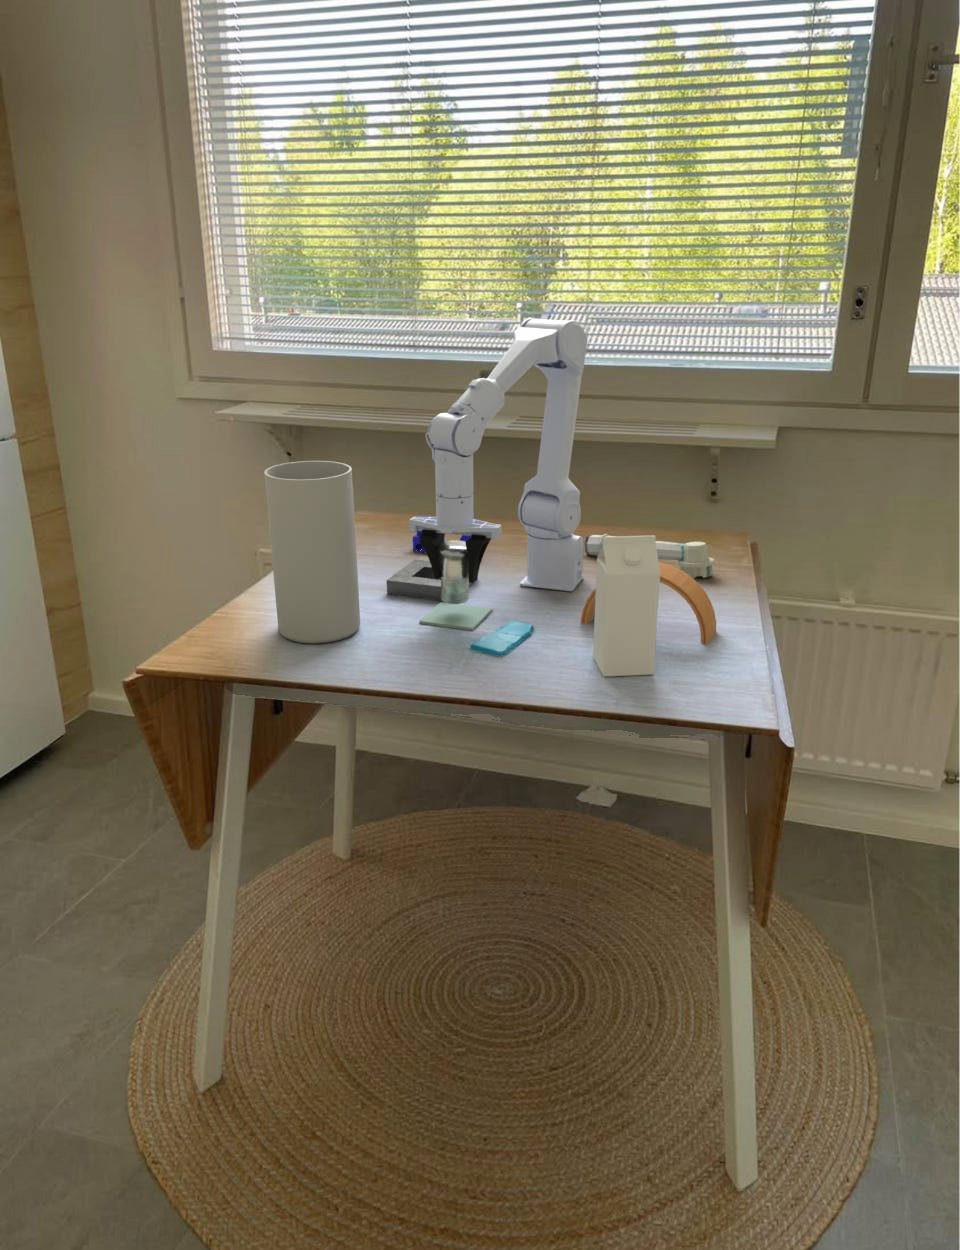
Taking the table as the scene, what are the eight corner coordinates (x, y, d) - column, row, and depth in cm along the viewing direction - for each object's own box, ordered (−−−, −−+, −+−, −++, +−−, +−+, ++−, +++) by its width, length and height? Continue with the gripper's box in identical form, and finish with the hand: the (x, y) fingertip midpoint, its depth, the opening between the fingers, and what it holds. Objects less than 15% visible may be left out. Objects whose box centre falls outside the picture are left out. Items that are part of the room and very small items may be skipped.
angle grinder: (595, 531, 185) (717, 535, 170) (598, 564, 187) (719, 571, 172) (581, 537, 182) (705, 542, 166) (584, 571, 183) (707, 579, 168)
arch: (593, 611, 156) (596, 552, 152) (716, 632, 147) (722, 570, 144) (580, 623, 151) (582, 563, 147) (706, 646, 143) (712, 582, 139)
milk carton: (592, 657, 139) (598, 529, 132) (641, 655, 139) (649, 528, 132) (602, 677, 132) (608, 545, 125) (653, 675, 133) (662, 543, 126)
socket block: (477, 579, 170) (477, 566, 169) (452, 602, 160) (452, 588, 159) (415, 572, 174) (414, 559, 173) (387, 594, 164) (386, 580, 163)
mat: (492, 610, 156) (492, 608, 156) (473, 630, 148) (473, 628, 148) (441, 604, 159) (440, 601, 159) (419, 623, 151) (419, 620, 151)
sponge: (545, 628, 147) (514, 616, 150) (501, 654, 138) (468, 640, 141) (544, 637, 148) (513, 625, 151) (500, 663, 139) (467, 649, 142)
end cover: (475, 593, 155) (477, 543, 151) (465, 607, 151) (467, 555, 146) (444, 588, 156) (445, 538, 152) (433, 602, 152) (433, 550, 148)
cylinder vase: (377, 629, 149) (369, 469, 140) (310, 652, 141) (297, 484, 131) (327, 609, 157) (317, 457, 148) (262, 630, 149) (247, 470, 140)
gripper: (400, 496, 145) (403, 581, 150) (490, 504, 140) (490, 592, 145) (418, 485, 151) (421, 568, 156) (506, 493, 147) (505, 577, 152)
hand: (455, 578), depth 151 cm, fingers closed on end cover, 5 cm apart
